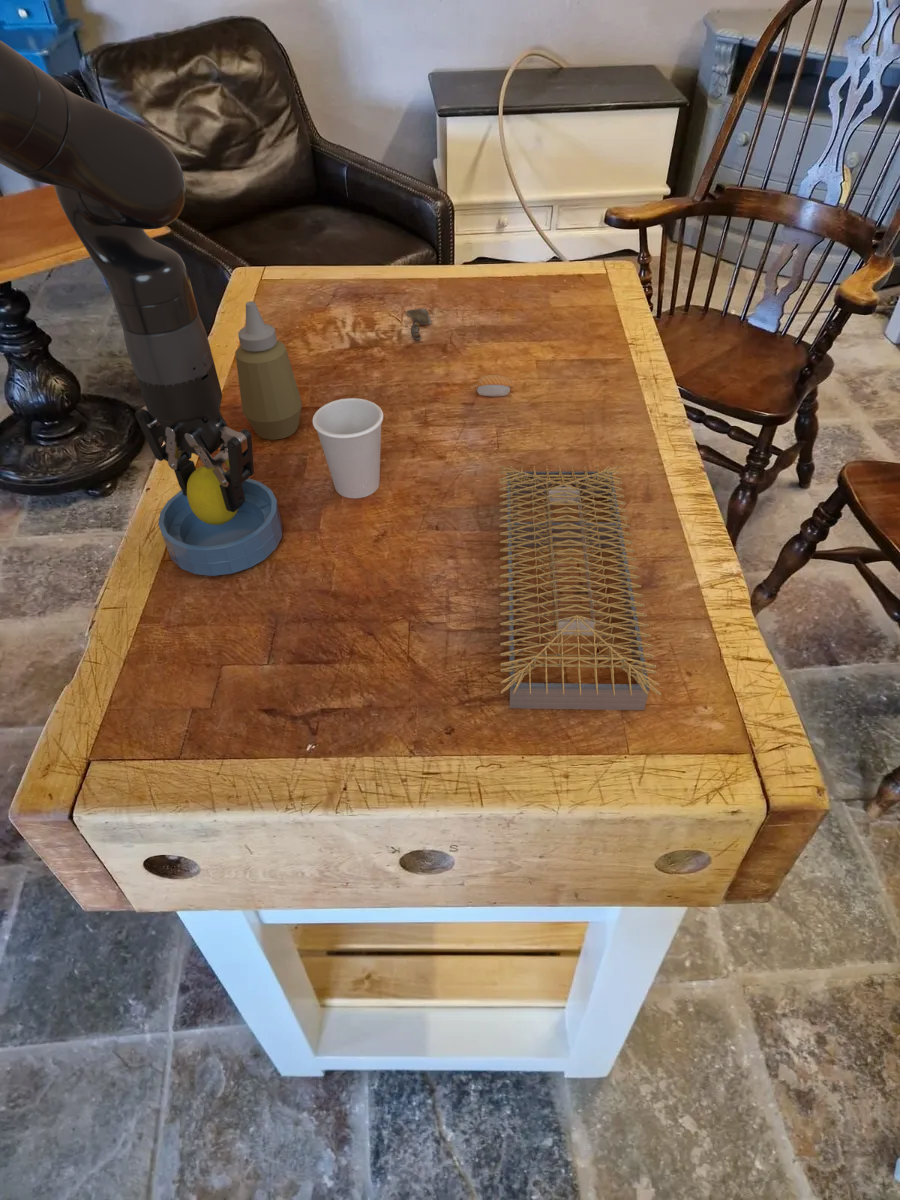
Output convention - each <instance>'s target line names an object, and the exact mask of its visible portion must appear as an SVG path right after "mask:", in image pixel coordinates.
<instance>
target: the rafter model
mask: <svg viewBox="0 0 900 1200" xmlns="http://www.w3.org/2000/svg"><path fill="white" fill-rule="evenodd" d="M499 468H500V469H501V470H500V471H499V474H501V475H505V476H504V477H501V478H499V485H506V486H503V487H500V488H499V491H505V492H506V493H503V494H500V495H499V498H506V500H503V501H500V502H499V505H506V507H504V508H501V509H499V512H500V513H501V512H502V513H506V515H504V516H500V517H499V520H506V522H505V523H503V524H499V528H506V531H502V532H499V535H500V536H506V539H502V540H499V543H500V544H506V547H504V548H500V549H499V552H506V556H502V557H500V558H499V561H506V562H507V564H504V565H501V566H499V569H502V570H506V569H507V573H505V574H500V575H499V578H507V582H503V583H500V584H499V588H500V587H501V588H503V587H505V588H506V587H507V591H506V592H502V593H500V594H499V596H500V597H507V601H504V602H500V604H499V606H507V610H506V611H503V612H500V613H499V614H500V616H507V621H503V622H500V623H499V625H500V626H507V627H508V630H507V631H504V632H500V633H499V636H508V637H507V638H508V641H504V642H500V646H508V651H505V652H501V653H500V656H502V657H503V656H505V657H507V656H508V661H506V662H501V663H500V667H505V668H501V669H500V672H508V676H507V678H505V679H503V680H502V681H500V684H501V685H502V684H505V683H508V684H507V685H506V686H505V687H504V688H503V689H502V690H501V691H500V695H502V694H503V693H504V692H506V691H507V690H508V693H509V694H508V695H509V696H508V697H509V700H508V701H509V709H532V710H535V709H536V710H537V709H538V710H541V709H542V710H597V711H599V710H601V711H602V710H603V711H605V710H607V711H608V710H609V711H617V710H618V711H645V710H646V705H647V701H648V698H649V693H650V690H651V691H652V692H654V693H655V694H657V695H658V696H660V697H661V696H662V693H661V692H660V691H659V690H658V689H657V688H656V687H655V686H658V687H659V686H660V683H659V682H658V681H656V680H654V679H652V678H650V677H649V676H648V674H658V671H657V670H655V669H656V668H657V664H654V663H649V662H646V659H645V658H655V655H654V654H651V653H647V652H644V648H652V647H653V644H651V643H646V642H643V641H642V638H651V634H649V633H646V632H642V631H641V630H640V627H649V624H648V623H644V622H641V621H639V618H638V617H647V614H646V613H643V612H640V611H637V607H644V608H645V607H646V606H645V605H646V604H645V603H641V602H638V601H635V598H643V597H644V594H642V593H638V592H634V590H633V588H640V589H641V588H642V585H641V584H637V583H634V582H632V579H640V576H639V575H636V574H632V573H630V570H638V569H639V567H638V566H634V565H631V564H629V561H631V562H635V561H637V558H636V557H632V556H628V555H627V553H635V549H632V548H629V547H626V545H627V544H628V545H633V544H634V541H631V540H629V539H625V538H624V536H629V537H630V536H632V535H633V534H632V533H631V532H628V531H624V530H623V528H631V525H629V524H626V523H624V522H622V521H623V520H625V521H629V517H627V516H625V515H622V514H621V515H620V513H628V509H625V508H622V507H619V505H626V504H627V502H625V501H623V500H618V498H625V494H621V493H618V492H619V491H622V492H623V491H624V488H623V487H619V486H616V485H622V484H623V481H622V477H621V478H620V477H617V476H615V475H618V474H621V471H620V470H618V469H619V468H620V465H617V466H614V467H610V465H607V467H605V469H603V470H601V471H600V469H599V467H598V465H596V466H595V468H596V471H592V470H591V471H589V470H588V471H587V469H586V467H585V465H583V470H582V471H581V470H580V471H579V470H578V471H574V468H573V465H570V470H571V471H569V470H568V471H567V470H566V471H562V470H561V467H560V465H558V471H555V470H554V471H549V469H548V465H546V466H545V470H546V471H544V470H543V471H539V470H538V471H536V467H535V466H533V471H530V470H529V471H528V470H527V471H523V465H520V470H518V469H516V468H515V467H513V466H512V465H508V467H506V466H502V465H499ZM616 491H617V492H616ZM522 498H531V500H530V501H529V500H525V499H524V500H523V499H522ZM534 498H536V499H534ZM591 498H592V499H591ZM595 498H604V499H603V500H595ZM545 499H546V500H545ZM515 501H518V502H515ZM538 501H541V502H538ZM584 501H590V502H584ZM511 505H512V506H511ZM524 505H532V508H527V507H522V506H524ZM534 505H537V506H534ZM591 505H593V506H591ZM596 505H603V506H605V507H601V508H597V507H596ZM551 506H563V507H561V508H557V509H551ZM568 506H569V507H568ZM570 506H577V509H576V508H572V507H570ZM516 508H517V509H516ZM541 508H542V509H541ZM586 508H589V509H586ZM591 509H592V510H591ZM523 513H532V515H531V516H529V515H524V514H523ZM535 513H538V514H535ZM592 513H594V514H592ZM597 513H606V514H605V515H600V516H599V515H597ZM551 514H564V515H561V516H557V517H552V516H551ZM569 514H570V515H569ZM571 514H578V517H577V516H574V515H571ZM546 515H547V516H546ZM516 516H519V517H516ZM540 516H543V517H540ZM586 516H590V517H586ZM512 520H513V521H512ZM526 520H532V521H526ZM535 520H537V521H535ZM594 520H595V522H594ZM598 520H600V522H599V521H598ZM601 520H602V521H601ZM605 521H606V522H605ZM555 547H556V548H558V547H559V548H566V549H554V548H555ZM516 548H519V549H516ZM575 548H582V549H575ZM591 548H592V549H591ZM513 552H516V553H513ZM530 552H532V553H533V552H534V557H533V556H528V555H523V554H526V553H530ZM545 552H546V553H547V552H550V553H547V554H545ZM537 553H539V554H541V555H539V556H537ZM598 553H600V555H596V554H598ZM602 553H609V554H613V555H610V556H606V557H605V556H604V557H603V556H602ZM556 555H579V556H580V555H581V556H582V555H583V558H576V557H572V556H570V557H566V558H565V557H564V558H563V557H562V558H560V557H559V558H558V557H557V558H555V556H556ZM591 557H594V558H591ZM513 561H516V562H513ZM529 561H535V565H530V564H524V563H525V562H529ZM538 561H539V562H540V563H542V564H539V565H537V564H538ZM544 561H551V562H544ZM590 561H594V562H590ZM600 561H601V563H600V564H597V563H598V562H600ZM604 561H607V562H612V563H614V564H610V565H605V566H604ZM556 564H584V566H574V565H573V566H572V565H571V566H566V567H565V566H555V565H556ZM517 565H519V566H517ZM516 569H517V570H516ZM513 570H515V571H513ZM530 570H535V574H530V573H525V572H526V571H530ZM538 570H540V571H541V572H543V573H540V574H538ZM545 570H551V571H545ZM591 570H596V571H591ZM601 570H602V573H598V572H599V571H601ZM605 570H609V571H613V572H617V573H612V574H607V575H605ZM557 573H577V574H579V573H581V574H582V573H583V574H584V573H585V575H556V574H557ZM517 574H520V575H517ZM515 578H516V580H513V579H515ZM517 578H520V579H517ZM535 578H536V583H531V582H525V581H527V580H530V579H535ZM539 579H540V580H541V581H543V582H542V583H538V582H539ZM546 579H552V580H550V581H547V580H546ZM591 579H597V580H595V581H594V580H591ZM606 579H609V580H613V581H617V582H613V583H608V584H606ZM601 580H603V583H602V582H599V581H601ZM517 583H519V584H517ZM520 583H521V584H520ZM557 583H586V585H585V584H582V585H581V584H557ZM515 587H516V588H518V587H519V588H518V589H514V588H515ZM532 588H536V593H535V592H531V591H530V592H529V591H524V590H528V589H532ZM546 588H553V589H552V590H548V589H546ZM572 588H577V589H572ZM592 588H598V589H597V590H593V589H592ZM608 588H610V589H614V590H617V591H618V592H612V593H611V592H610V593H607V591H608ZM539 589H542V590H543V591H544V592H541V593H539ZM603 589H605V590H604V592H601V590H603ZM559 592H587V594H566V593H565V594H564V593H563V594H562V593H561V594H559ZM514 597H520V598H516V599H514ZM534 597H537V601H536V602H532V601H526V599H527V600H528V599H531V598H534ZM546 597H553V599H552V600H549V599H547V598H546ZM558 597H560V598H558ZM593 597H596V598H598V597H599V598H598V599H597V600H596V599H593ZM609 597H610V598H614V599H617V600H621V601H617V602H611V603H609ZM540 598H541V599H544V600H545V601H544V602H540ZM571 598H578V599H571ZM604 599H606V602H603V601H602V600H604ZM517 602H518V603H517ZM519 602H521V603H519ZM558 602H588V603H558ZM596 603H597V604H596ZM514 606H523V607H519V608H515V609H514ZM534 607H537V612H534V611H529V610H526V609H530V608H534ZM540 607H541V608H542V609H544V610H545V612H541V613H540ZM547 607H554V609H553V610H550V609H548V608H547ZM559 607H561V608H559ZM594 607H602V608H600V609H597V610H596V609H594ZM572 608H580V609H572ZM606 608H608V609H607V612H604V611H603V610H604V609H606ZM610 608H615V609H619V610H622V611H617V612H611V613H610ZM519 612H520V613H519ZM522 612H523V613H522ZM559 612H589V613H559ZM514 616H524V617H520V618H515V619H514ZM545 616H549V617H550V616H552V617H553V616H555V618H554V619H555V620H551V619H549V618H547V617H545ZM559 616H560V617H561V616H562V617H563V618H559ZM565 616H566V617H565ZM535 617H538V619H537V620H538V621H537V622H534V621H529V620H526V619H531V618H535ZM589 617H590V618H589ZM595 617H603V618H602V619H600V620H597V619H596V618H595ZM612 617H613V618H616V619H621V620H624V621H619V622H618V621H617V622H614V623H613V622H612V623H611V621H612ZM541 618H543V619H545V620H546V621H547V622H543V623H540V619H541ZM608 618H609V620H608V622H604V620H606V619H608ZM518 622H519V623H518ZM521 622H522V623H521ZM523 622H524V623H523ZM515 626H525V627H521V628H516V629H515V628H514V627H515ZM546 626H550V627H551V626H553V627H554V626H555V627H556V629H555V630H551V629H549V628H547V627H546ZM536 627H538V632H534V631H528V629H532V628H536ZM596 627H605V628H603V629H601V630H598V629H596ZM541 628H543V629H545V630H546V631H547V632H542V633H541ZM614 628H617V629H620V630H624V631H622V632H615V633H613V629H614ZM608 629H610V632H609V633H608V632H605V631H606V630H608ZM519 632H521V633H519ZM515 636H517V637H519V636H524V637H522V638H518V639H515ZM536 637H539V643H538V642H533V641H527V640H529V639H532V638H533V639H534V638H536ZM548 637H554V638H553V639H552V640H551V639H550V638H548ZM560 637H561V638H560ZM563 637H565V639H563ZM572 637H577V643H564V642H566V641H567V640H569V639H570V638H572ZM579 637H583V639H585V640H586V641H587V642H588V643H580V638H579ZM587 637H593V642H592V641H591V640H590V639H588V638H587ZM603 637H607V638H604V639H603ZM627 637H628V638H627ZM542 638H544V639H545V640H547V641H549V642H545V643H542ZM596 638H598V639H599V640H601V641H599V642H598V641H597V642H596ZM611 638H612V639H611ZM615 638H618V639H622V640H625V642H619V643H614V641H615ZM556 639H557V642H555V641H556ZM560 639H561V641H560ZM609 639H610V640H611V643H609V642H607V640H609ZM519 642H521V643H519ZM515 646H516V647H517V646H518V647H519V646H527V647H523V648H519V649H515ZM540 647H544V648H543V649H542V650H541V651H540V652H537V651H531V650H530V649H534V648H540ZM551 647H558V651H557V652H556V651H555V650H554V649H553V648H551ZM564 647H570V648H568V649H567V650H566V649H565V650H564ZM585 647H594V653H593V652H592V651H590V650H588V649H587V648H585ZM598 647H604V648H603V649H602V650H600V651H599V652H597V651H598ZM614 647H615V648H618V649H622V650H626V651H624V652H617V651H616V650H615V649H614ZM547 648H548V649H549V650H550V651H551V652H553V653H554V654H553V653H552V654H549V653H548V654H547ZM575 648H577V653H578V654H565V653H567V652H569V651H571V650H574V649H575ZM580 648H581V649H582V650H584V651H585V652H587V653H588V654H580ZM608 649H609V650H608ZM606 650H608V654H601V653H603V652H604V651H606ZM520 652H525V653H520ZM625 654H626V655H625ZM628 654H629V655H628ZM515 657H523V658H518V659H515ZM529 660H531V661H530V662H529ZM541 660H544V662H542V661H541ZM555 660H558V662H557V661H555ZM564 660H567V661H565V662H564ZM588 660H589V661H588ZM591 660H592V661H593V660H594V662H591ZM599 661H601V662H600V663H599ZM614 661H616V662H614ZM628 661H629V662H628ZM536 662H537V663H536ZM548 662H551V663H548ZM574 662H577V664H575V663H574ZM581 662H584V663H586V664H581ZM608 662H610V664H606V663H608ZM571 663H574V664H571ZM620 663H621V664H620ZM537 667H539V668H540V667H541V668H542V667H544V673H545V682H531V681H532V680H531V679H532V678H531V672H532V671H533V670H534V669H535V668H537ZM548 667H551V668H552V667H553V668H560V669H561V670H560V671H561V682H559V683H558V682H557V683H555V682H548ZM564 668H577V676H578V683H568V682H567V683H566V682H565V678H564V677H565V676H564V675H565V674H564ZM581 668H593V673H594V682H595V683H581V680H582V679H581ZM597 668H609V671H610V676H611V677H610V678H611V683H598V672H597V671H598V669H597ZM614 668H618V669H621V670H623V671H624V672H625V673H626V674H627V682H628V683H615V675H614V674H615V673H614ZM527 675H528V682H522V681H523V679H524V678H525V676H527ZM631 677H632V678H633V679H634V681H635V684H634V683H632V679H631ZM654 685H655V686H654Z"/></svg>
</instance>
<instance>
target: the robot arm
mask: <svg viewBox="0 0 900 1200" xmlns="http://www.w3.org/2000/svg"><path fill="white" fill-rule="evenodd" d="M0 164H1V165H2V166H4V167H6V168H8V169H10V170H12V171H13V172H15V173H17V174H19V175H21V176H24V177H25V178H26V179H30V180H32V181H35V182H39V183H42V184H46V185H51V186H53V188H54V192H55V194H56V197H57V200H58V202H59V204H60V207H61V209H62V211H63V213H64V215H65V217H66V218H67V221H68V222H69V223H70V225H71V227H72V228H73V231H74V232H75V233H76V235H77V237H78V238H79V240H80V242H81V243H82V244H83V247H84V248H85V250H86V252H87V253H88V254H89V256H90V258H91V260H92V261H93V264H95V266H96V267H97V269H98V270H99V272H100V273H101V274H102V276H103V277H104V279H105V281H106V282H107V285H108V288H109V291H110V295H111V297H112V300H113V303H114V307H115V309H116V312H117V315H118V318H119V321H120V324H121V328H122V331H123V337H124V342H125V347H126V351H127V354H128V357H129V360H130V363H131V365H132V369H133V372H134V375H135V378H136V380H137V384H138V386H139V390H140V393H141V395H142V398H143V402H144V406H143V407H141V408H140V409H139V410H137V411H135V413H134V417H135V420H136V421H137V423H138V425H139V427H140V429H141V432H142V433H143V435H144V438H145V439H146V442H147V443H148V446H149V448H150V451H151V452H152V454H153V456H154V458H155V459H156V460H157V461H159V462H162V461H165V462H167V465H168V467H169V468H170V469H171V470H173V471H174V474H175V477H176V481H177V483H178V487H179V488H180V490H182V492H183V495H185V496H187V482H188V479H189V477H190V475H191V474H192V473H193V472H194V471H195V470H196V469H197V468H196V464H195V462H194V461H193V460H190V459H192V455H193V454H194V455H196V456H197V457H198V458H199V459H200V461H201V463H202V464H203V466H205V467H206V468H207V469H211V470H212V471H213V472H214V474H215V476H216V477H217V479H218V481H219V482H220V489H221V492H222V496H223V499H224V503H225V506H226V509H227V510H228V511H230V512H235V511H236V510H237V509H238V508H240V507H241V506H242V505H243V503H244V502H245V496H244V492H243V488H242V483H243V482H244V481H245V480H247V479H248V478H249V479H250V477H253V476H254V474H255V463H254V452H253V451H254V449H253V436H252V433H251V431H249V429H247V428H243V429H241V430H240V431H237V430H234V429H232V428H230V427H228V423H227V421H226V420H225V418H224V416H223V415H222V413H221V405H222V400H223V391H222V388H221V387H222V386H221V384H220V379H219V376H218V373H217V368H216V365H215V361H214V356H213V353H212V348H211V345H210V342H209V338H208V334H207V331H206V328H205V326H204V324H203V321H202V318H201V317H200V313H199V310H198V305H197V302H196V298H195V295H194V290H193V287H192V282H191V279H190V277H189V276H190V275H189V272H188V269H187V266H186V262H185V261H184V259H183V258H182V256H181V255H180V254H179V253H178V252H177V251H175V250H174V249H172V248H170V247H168V246H166V245H164V244H162V243H160V242H158V241H156V240H154V239H153V238H152V237H150V236H149V235H148V234H147V233H146V231H145V230H158V229H162V228H165V227H167V226H169V225H170V224H172V223H173V222H174V221H175V220H177V218H178V217H179V216H180V215H181V213H182V211H183V209H184V207H185V204H186V198H187V184H186V178H185V174H184V172H183V169H182V166H181V164H180V163H179V161H178V159H177V158H176V156H175V154H174V152H173V151H172V150H171V149H170V147H168V145H167V144H166V143H165V142H164V141H163V140H162V139H160V137H158V136H157V135H156V134H154V133H153V132H151V131H150V130H148V128H145V127H144V126H142V125H140V124H138V123H137V122H135V121H132V120H131V119H129V118H127V117H125V116H122V115H121V114H119V113H116V112H114V111H112V110H111V109H109V108H107V107H104V106H103V105H100V104H98V103H96V102H93V101H91V100H89V99H86V98H84V97H82V96H80V95H78V94H76V93H74V92H72V91H71V90H69V89H67V88H66V86H64V85H62V84H61V83H60V82H59V81H58V80H56V79H55V78H54V77H52V76H51V75H50V74H48V73H47V72H45V71H44V70H43V69H41V68H40V67H38V66H37V65H36V64H34V62H32V61H30V60H29V59H27V58H26V57H25V56H23V55H22V54H21V53H20V52H18V51H16V50H15V49H14V48H12V47H11V46H9V44H7V43H5V42H4V41H2V40H0ZM160 438H162V440H163V442H164V444H163V445H162V446H161V443H160V441H159V440H160ZM217 450H219V452H218V453H217V454H215V456H213V457H212V455H213V454H214V453H215V452H217ZM223 464H225V465H226V467H227V468H228V470H226V471H227V472H226V473H225V471H224V470H225V469H224V468H223Z"/></svg>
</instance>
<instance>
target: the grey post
mask: <svg viewBox="0 0 900 1200" xmlns="http://www.w3.org/2000/svg"><path fill="white" fill-rule="evenodd" d="M406 314H407V315H408V316H409V317H410V318H411V319H412V325H411V327H410V334H411V336H410V337H411V338H412V339H413V340H414V341H416V342H419V341H421V339H422V337H421V334H420V332H419V330H420V326H425V325H431V324H432V323H433V322H432V320H431V317H430V315H429V312H428V310H427V308H415V309H409V310H406Z"/></svg>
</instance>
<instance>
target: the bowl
mask: <svg viewBox="0 0 900 1200" xmlns="http://www.w3.org/2000/svg"><path fill="white" fill-rule="evenodd" d="M242 488H243V492H244V496H245V502H244V503H243V505H242V506H241V507H240V508H238V511H237V513H236V514H235V516H234V517H233V518H232V519H231V520H230V521H228V522H226V523H224V524H223V525H211V524H207V523H205V522H203V521H201V520H200V519H199V518H198V517H197V516H196V515H195V514H194V513H193V511H192V509H191V507H190V505H189V502H188V499H187V496H185V495H183V492H182V489H180V490H179V491H178V492H177V493H176V494H174V496H171V498H170V499H168V501H167V502H166V503H165V505H164V506H163V507H162V509H161V510H160V513H159V517H158V522H157V523H158V524H157V525H158V527H159V530H160V533H161V536H162V538H163V541H164V544H165V547H166V549H167V552H168V555H169V557H170V560H171V561H172V562H173V563H174V564H175V565H177V566H178V568H180V569H181V570H184V571H186V572H188V573H191V574H193V575H199V576H209V577H216V576H225V575H226V576H227V575H233V574H236V573H238V572H239V573H240V572H241V571H244V570H248V569H250V568H253V567H254V566H256V565H258V564H260V563H261V562H263V561H265V560H266V559H267V558H268V557H269V556H270V555H272V553H274V552H275V550H276V549H277V548H278V546H279V544H280V542H281V539H282V537H283V521H282V517H281V512H280V509H279V504H278V499H277V498H276V496H275V493H274V491H273V490H272V489H271V488H270V487H268V486H267V485H265V484H264V483H263V482H261V481H259V480H255V479H253V478H250V477H249V478H248V479H247V480H245V481H244V482H243V483H242Z"/></svg>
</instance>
